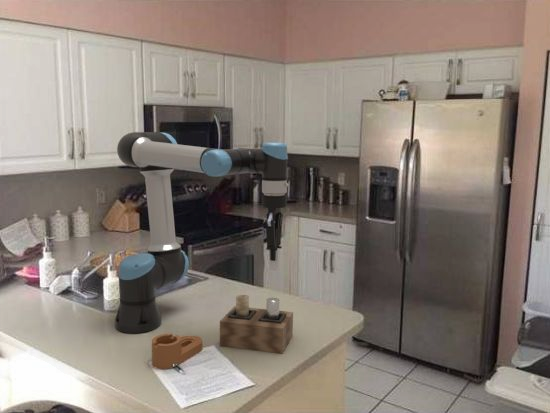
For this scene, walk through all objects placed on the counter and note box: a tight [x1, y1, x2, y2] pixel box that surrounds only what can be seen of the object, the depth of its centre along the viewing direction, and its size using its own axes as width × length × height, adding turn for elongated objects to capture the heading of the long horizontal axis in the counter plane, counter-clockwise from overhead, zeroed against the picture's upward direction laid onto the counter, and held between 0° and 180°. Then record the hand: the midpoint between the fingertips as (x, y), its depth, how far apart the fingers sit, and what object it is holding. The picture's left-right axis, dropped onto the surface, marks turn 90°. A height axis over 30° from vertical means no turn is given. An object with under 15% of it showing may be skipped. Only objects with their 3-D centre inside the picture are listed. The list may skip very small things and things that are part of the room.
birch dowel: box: [235, 294, 250, 317], centre depth 159 cm, size 4×4×8 cm
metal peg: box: [265, 297, 280, 320], centre depth 156 cm, size 4×4×8 cm
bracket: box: [151, 333, 203, 370], centre depth 147 cm, size 18×8×7 cm, turn 151°
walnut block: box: [219, 305, 294, 355], centre depth 158 cm, size 20×14×9 cm
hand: (273, 269), depth 154 cm, fingers closed
